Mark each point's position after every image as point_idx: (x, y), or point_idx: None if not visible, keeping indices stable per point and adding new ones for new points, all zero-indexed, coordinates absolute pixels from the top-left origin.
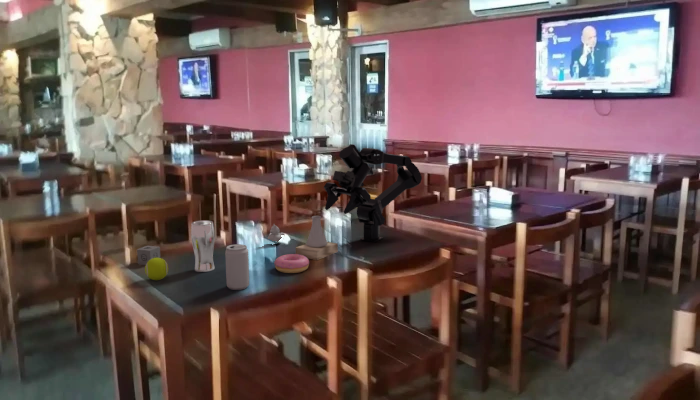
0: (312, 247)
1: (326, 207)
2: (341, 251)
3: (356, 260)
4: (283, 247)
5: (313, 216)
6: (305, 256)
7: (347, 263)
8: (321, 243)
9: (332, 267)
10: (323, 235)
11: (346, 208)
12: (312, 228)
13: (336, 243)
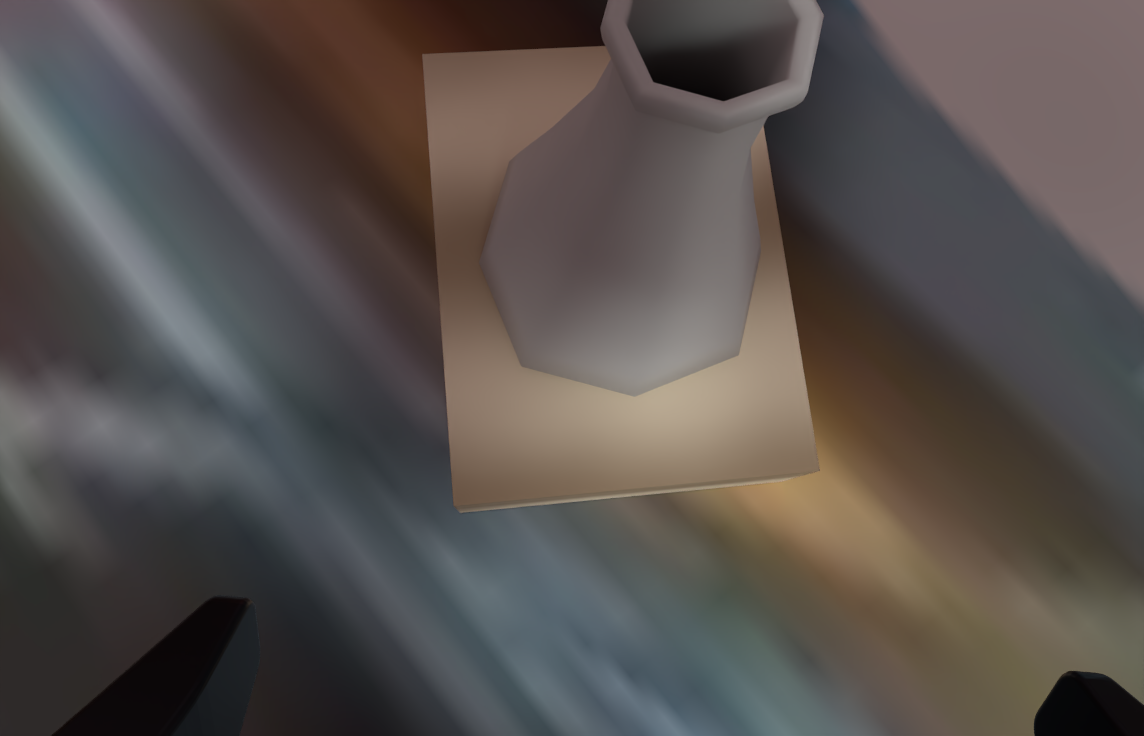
0: None
1: (1093, 714)
2: (437, 564)
3: (39, 360)
4: (1090, 273)
5: (803, 23)
6: None
7: (68, 207)
8: (503, 201)
9: (129, 12)
10: (549, 257)
11: (112, 690)
12: (689, 78)
13: (467, 496)
